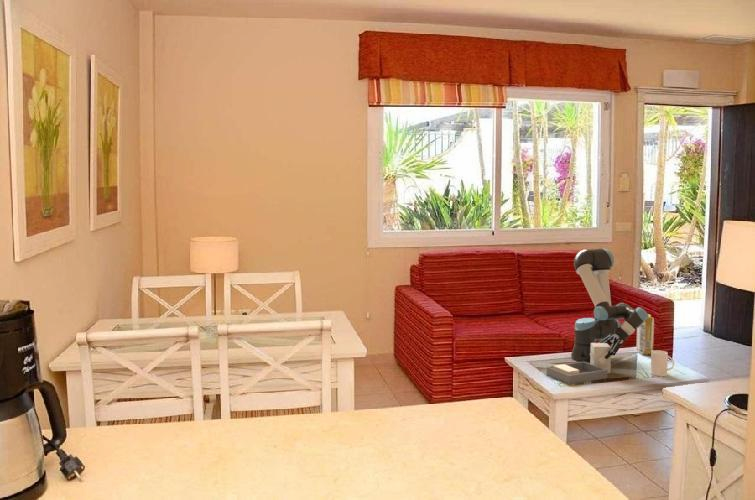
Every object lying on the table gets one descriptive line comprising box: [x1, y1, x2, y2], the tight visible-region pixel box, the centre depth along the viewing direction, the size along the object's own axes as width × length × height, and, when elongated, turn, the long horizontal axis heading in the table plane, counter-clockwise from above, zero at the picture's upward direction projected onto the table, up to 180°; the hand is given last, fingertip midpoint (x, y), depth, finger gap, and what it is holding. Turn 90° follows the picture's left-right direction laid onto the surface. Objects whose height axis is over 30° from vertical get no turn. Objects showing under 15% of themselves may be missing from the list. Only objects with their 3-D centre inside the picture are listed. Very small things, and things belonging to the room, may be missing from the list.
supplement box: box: [589, 342, 612, 375], centre depth 344 cm, size 9×9×15 cm
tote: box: [546, 361, 608, 385], centre depth 334 cm, size 18×25×5 cm
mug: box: [649, 349, 675, 377], centre depth 338 cm, size 12×8×12 cm
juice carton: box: [635, 313, 655, 356], centre depth 380 cm, size 9×8×24 cm
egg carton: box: [552, 363, 579, 375], centre depth 331 cm, size 12×7×6 cm, turn 23°
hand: (595, 359), depth 344 cm, fingers open, 12 cm apart
